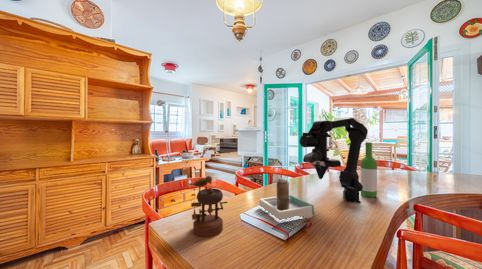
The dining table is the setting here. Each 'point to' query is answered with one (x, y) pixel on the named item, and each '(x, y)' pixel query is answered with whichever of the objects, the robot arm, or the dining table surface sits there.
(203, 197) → the music box
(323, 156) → the robot arm
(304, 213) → the tray sleeve
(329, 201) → the dining table surface
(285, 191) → the pepper mill
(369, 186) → the wine bottle
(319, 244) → the dining table surface
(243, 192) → the dining table surface
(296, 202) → the grey tray
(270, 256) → the dining table surface
